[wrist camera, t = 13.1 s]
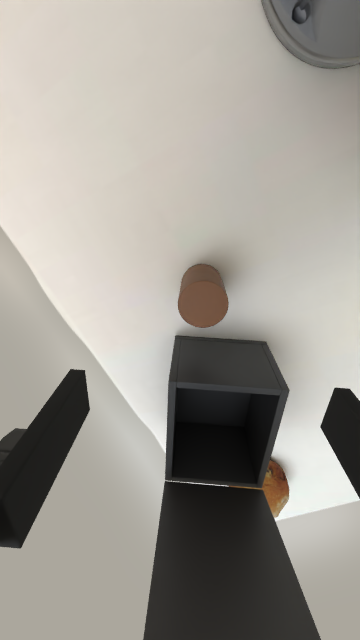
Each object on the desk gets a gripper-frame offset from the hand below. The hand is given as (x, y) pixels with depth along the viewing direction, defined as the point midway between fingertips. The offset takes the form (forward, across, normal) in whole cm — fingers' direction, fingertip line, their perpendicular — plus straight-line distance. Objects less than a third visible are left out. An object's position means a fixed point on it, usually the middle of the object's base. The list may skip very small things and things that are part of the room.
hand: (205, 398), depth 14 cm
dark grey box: (+20, +3, -15) cm, 25 cm away
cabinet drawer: (+2, +3, -20) cm, 20 cm away
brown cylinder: (+20, 0, 0) cm, 20 cm away
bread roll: (+20, +13, -34) cm, 42 cm away
